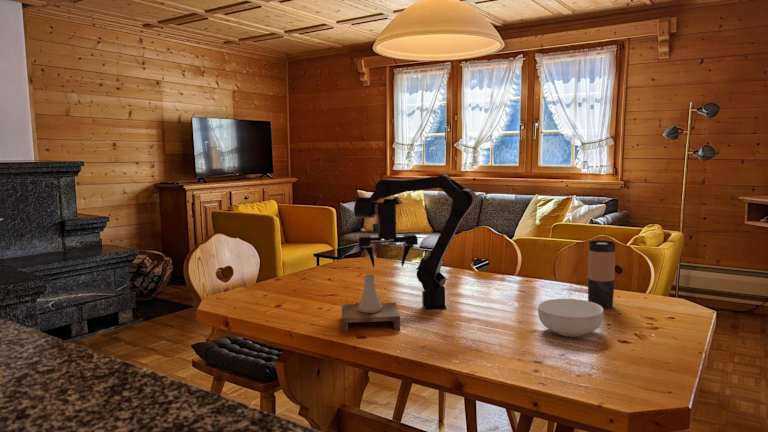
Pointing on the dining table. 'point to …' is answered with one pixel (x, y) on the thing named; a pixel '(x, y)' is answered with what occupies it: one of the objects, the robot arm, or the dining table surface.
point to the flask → (369, 297)
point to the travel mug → (601, 273)
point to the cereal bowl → (570, 316)
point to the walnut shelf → (370, 315)
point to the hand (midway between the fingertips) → (388, 266)
